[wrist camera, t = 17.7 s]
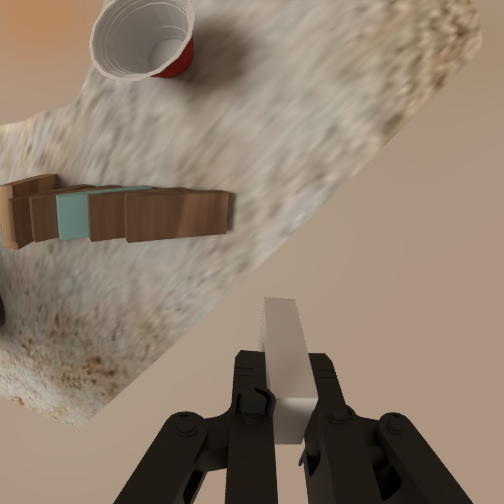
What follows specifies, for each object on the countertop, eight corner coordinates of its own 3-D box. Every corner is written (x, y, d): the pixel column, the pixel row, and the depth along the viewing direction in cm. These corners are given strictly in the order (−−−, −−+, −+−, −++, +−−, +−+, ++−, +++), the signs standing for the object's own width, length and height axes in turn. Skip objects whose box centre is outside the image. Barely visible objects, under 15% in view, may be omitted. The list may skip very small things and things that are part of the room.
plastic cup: (114, 70, 31) (66, 49, 20) (169, 10, 28) (140, -31, 17) (171, 114, 34) (136, 103, 22) (230, 51, 31) (220, 13, 20)
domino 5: (218, 229, 39) (125, 237, 32) (221, 190, 37) (124, 193, 31) (226, 233, 37) (128, 242, 31) (229, 193, 35) (127, 197, 29)
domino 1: (84, 219, 38) (11, 239, 28) (83, 184, 36) (7, 199, 26) (91, 221, 37) (16, 243, 27) (90, 185, 36) (11, 200, 25)
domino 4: (180, 225, 38) (89, 236, 31) (181, 187, 37) (87, 194, 30) (186, 229, 37) (91, 241, 30) (188, 189, 35) (89, 197, 28)
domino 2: (113, 221, 38) (32, 238, 29) (113, 184, 36) (29, 197, 27) (120, 224, 37) (35, 242, 28) (119, 186, 35) (31, 199, 26)
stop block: (44, 226, 38) (4, 247, 29) (41, 174, 36) (-3, 186, 26) (58, 227, 38) (18, 249, 29) (56, 174, 36) (12, 185, 26)
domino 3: (152, 187, 35) (58, 197, 27) (152, 226, 37) (61, 241, 29) (146, 185, 37) (56, 194, 29) (146, 223, 38) (59, 236, 30)
